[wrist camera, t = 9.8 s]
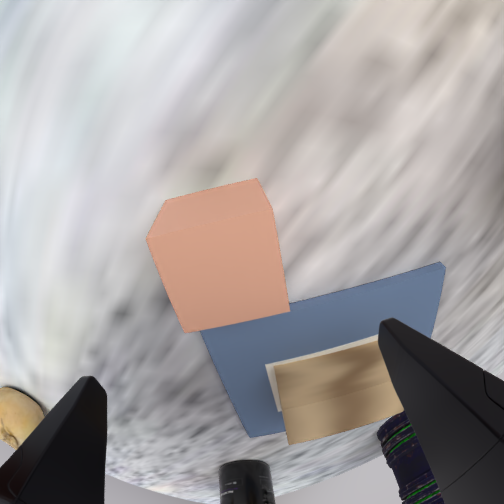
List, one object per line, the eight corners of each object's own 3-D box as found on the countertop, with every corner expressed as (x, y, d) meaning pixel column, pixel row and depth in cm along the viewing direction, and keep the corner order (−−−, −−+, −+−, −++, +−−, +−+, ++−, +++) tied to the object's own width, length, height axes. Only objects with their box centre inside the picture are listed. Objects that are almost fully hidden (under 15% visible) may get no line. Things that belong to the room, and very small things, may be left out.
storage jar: (376, 445, 34) (406, 526, 21) (374, 421, 30) (412, 522, 17) (435, 417, 33) (471, 491, 20) (443, 386, 29) (493, 476, 16)
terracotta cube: (256, 177, 16) (272, 208, 11) (272, 258, 18) (290, 311, 14) (166, 199, 16) (145, 238, 11) (191, 277, 18) (184, 333, 14)
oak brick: (397, 334, 21) (420, 369, 18) (386, 378, 24) (402, 411, 20) (273, 365, 21) (282, 410, 17) (281, 407, 24) (288, 445, 20)
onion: (58, 426, 26) (46, 472, 20) (8, 405, 24) (-8, 447, 18) (43, 391, 23) (24, 446, 16) (-12, 367, 21) (-36, 414, 15)
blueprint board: (439, 261, 19) (446, 267, 19) (411, 385, 27) (414, 391, 26) (200, 322, 20) (199, 331, 19) (249, 431, 27) (249, 438, 26)
